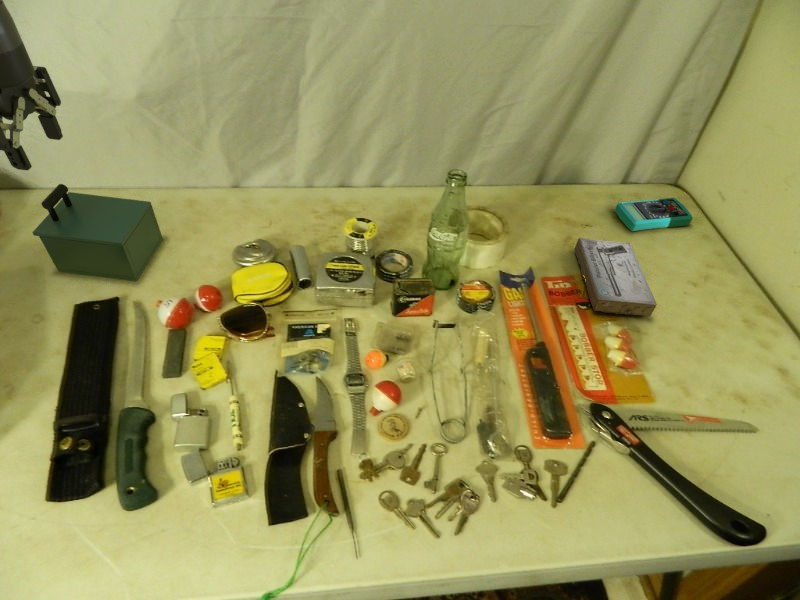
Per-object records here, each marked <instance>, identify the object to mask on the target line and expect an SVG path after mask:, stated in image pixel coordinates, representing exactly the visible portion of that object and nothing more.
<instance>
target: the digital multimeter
mask: <svg viewBox="0 0 800 600" xmlns="http://www.w3.org/2000/svg"><path fill="white" fill-rule="evenodd" d="M614 212H615V214H616V215H617V216H618V218H619V219H620V221H621V222H622V223H623V224H624V225H625V226H626V228H628V229H629V230H630V232H634V231H643V230H652V229H653V230H655V229H664V228H672V227H673V228H674V227H685V226H689V225H690V224H691V222H692V221H693V218H694V217H693V216H692V214H691V213H690V211H689V210H688V208H687V207H686V206H685V204H683V203H682V202H681V201H679V199H677V198H675V197H667V198H666V197H665V198H658V199H656V198H655V199H646V200H636V201H633V200H632V201H621V202H617V204H616V206H615V208H614Z"/></svg>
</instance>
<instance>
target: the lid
mask: <svg viewBox="0 0 800 600" xmlns="http://www.w3.org/2000/svg"><path fill="white" fill-rule="evenodd" d="M40 204H41V207H42V208H43V209H45V210H47V212H48V214H47V215H46V216H45V218H44V219H43V220H42V221H41V222H40V223H39V224H38V225H37V227H35V228H34V230H33V231H32V235H33V236H34V237H39V236H41V237H50V238H58V239H67V240H75V241H83V242H92V243H100V244H109V245H117V246H123V245H124V243H125V242H126V240H127V239H128V238H129V236H130V235H131V233H132V232H133V230H134V229H135V228H136V226H137V225H138V223H139V222H140V220H141V219H142V218H143V216H144V215H145V213H146V212H147V211H148V209H149V208H150V206H151V205H152V202H151V201H149V200H138V199H130V198H124V197H123V198H122V197H114V196H107V195H104V196H103V195H97V194H90V193H88V194H87V193H80V192H73V191H69V188H68V186H67V185H65V184H63V183H59V184H57V185H56V187H55V188H54V189H52V191H51V192H50V193H49V194H48V195H47V196H46V197H45V198H44V199H43V200H42V201H41V203H40Z"/></svg>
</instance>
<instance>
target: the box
mask: <svg viewBox="0 0 800 600" xmlns="http://www.w3.org/2000/svg"><path fill="white" fill-rule="evenodd" d="M574 252H575V255H576V259H577V262H578V265H579V266H580V273H581V278H582V279H584V278H583V276H582V275H584V276H585V279H586V284H587V288H586V292H587V295H588V298H589V300H590V304H591V306H592V308H593V310H592V311H595V312H596V311H597V312H602V313H604V314H607V313H610V314H615V315H618V314H619V315H627V316H630V315H631V316H638V317H647V318H649V317H651V316H652V314H653V312H654V311H655V309H656V308H657V305H658V304H657V301H656V298H655V296H654V294H653V292H652V290H651V288H650V285H649V283H648V281H647V278H646V276H645V274H644V271H643V269H642V266H641V264H640V262H639V259H638V258H637V255H636V252H635V251H634V248H633V245H632V244H631V242H621V241H612V240H601V239H600V240H599V239H593V238H592V239H591V238H583V237H579V238H578V239H577V241H576V244H575V246H574Z"/></svg>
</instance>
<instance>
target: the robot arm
mask: <svg viewBox="0 0 800 600" xmlns="http://www.w3.org/2000/svg"><path fill="white" fill-rule="evenodd" d="M46 93H48V95H49V96H48V95H47V94H46ZM61 104H62V100H61V98H60V96H59V94H58V92H57V89H56V87H55V85H54V83H53V80H52V78H51V76H50V74H49V72H48V69H47V68H46V67H45V66H38V65H33V62H32V59H31V58H30V56H29V53H28V51H27V48H26V45H25V43H24V41H23V39H22V37H21V34H20V32H19V30H18V27H17V24H16V23H15V20H14V19H13V16H12V14H11V13H10V11H9V9H8V7H7V6H6V4H5V2H4V1H3V0H0V151H2V152H4V154H5V156H6V158H7V159H8V161H9V163H10V166H11V167H12V168H15V169H16V170H21V171H29V170H31V169H32V168H33V167H32V163H31V161H30V160H29V157H28V155H27V153H26V151H25V149H24V147H23V146H22V144H21V145H20V143H21V142H20V141H21V140H20V135H21V134H20V133H21V132H23V131H24V121H25V120H26V119H27V118H28V116H29V115H31V114H33V113H36V114H38V115H37V118H38V121H39V124H40V125H41V128H42V130H43V132H44V134H45V136H46V137H47V139H49V140H56V141H61V140H62V139H63V137H64V136H63V133H62V127H61V126H60V123H59V121H58V119H57V116H56V115H57V109H56V108H57V107H60V106H61ZM3 118H4V119H5V120H7V121H12V122H11V123H5V122H4V121H3ZM7 131H9V138H8V137H7Z"/></svg>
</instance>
